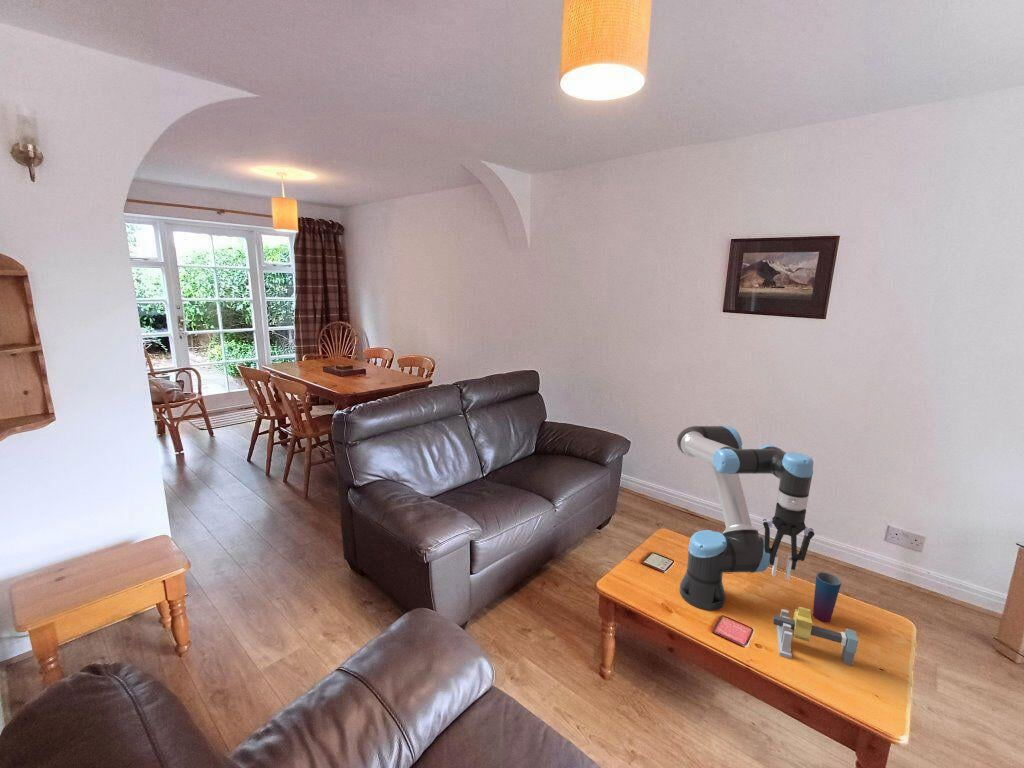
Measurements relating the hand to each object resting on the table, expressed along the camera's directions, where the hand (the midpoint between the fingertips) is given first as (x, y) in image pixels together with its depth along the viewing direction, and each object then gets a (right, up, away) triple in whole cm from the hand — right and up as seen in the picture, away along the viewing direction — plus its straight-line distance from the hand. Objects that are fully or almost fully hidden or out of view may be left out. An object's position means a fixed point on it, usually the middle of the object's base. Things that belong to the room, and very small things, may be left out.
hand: (780, 575), depth 139 cm
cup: (+22, -20, +14) cm, 33 cm away
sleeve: (+7, -18, +1) cm, 20 cm away
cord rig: (+10, -23, 0) cm, 25 cm away
